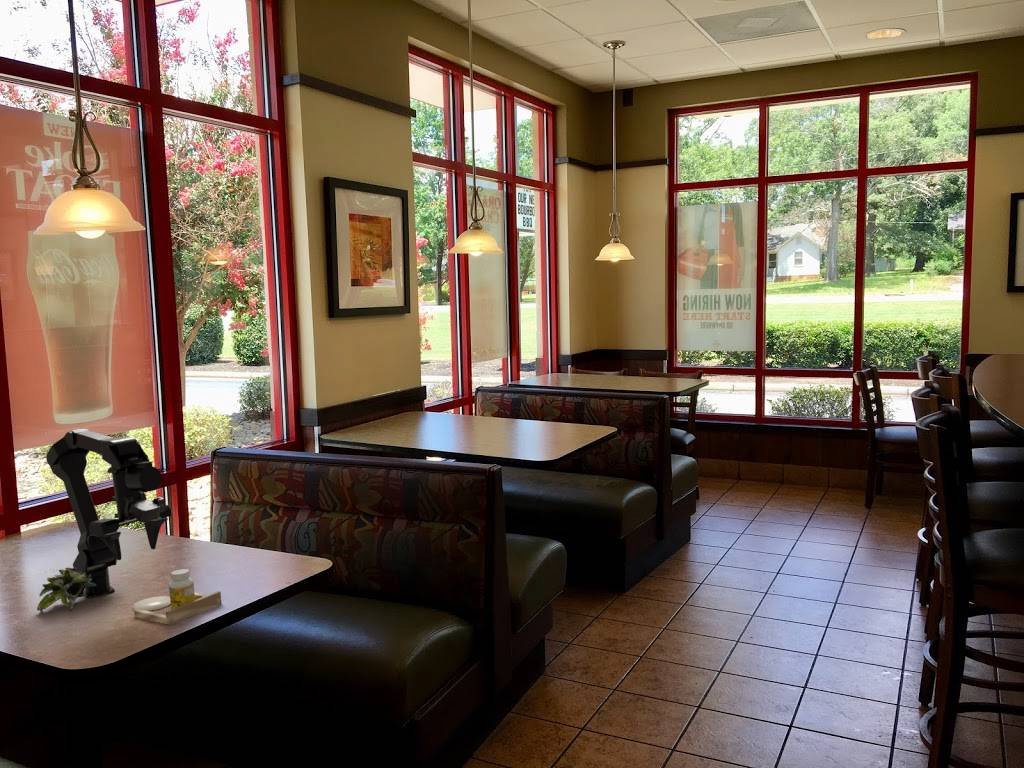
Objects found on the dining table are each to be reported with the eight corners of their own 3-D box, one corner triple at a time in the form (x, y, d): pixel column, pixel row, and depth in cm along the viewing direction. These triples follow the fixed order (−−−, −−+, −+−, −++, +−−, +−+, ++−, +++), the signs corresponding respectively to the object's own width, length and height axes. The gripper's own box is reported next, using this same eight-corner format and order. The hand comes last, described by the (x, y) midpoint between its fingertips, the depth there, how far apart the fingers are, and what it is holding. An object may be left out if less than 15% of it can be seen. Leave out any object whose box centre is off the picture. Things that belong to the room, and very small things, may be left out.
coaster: (128, 605, 199) (127, 603, 199) (166, 595, 205) (166, 593, 205) (139, 614, 192) (139, 612, 192) (178, 604, 198) (178, 602, 198)
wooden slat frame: (134, 616, 191) (133, 604, 190) (186, 596, 203) (185, 584, 203) (169, 625, 184) (168, 612, 184) (221, 603, 197) (220, 591, 197)
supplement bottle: (200, 609, 194) (197, 569, 193) (181, 617, 189) (178, 576, 188) (185, 605, 197) (182, 566, 196) (166, 613, 192) (162, 573, 191)
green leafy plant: (73, 623, 204) (98, 576, 208) (79, 627, 195) (105, 579, 200) (27, 606, 199) (54, 559, 203) (31, 610, 190) (59, 561, 195)
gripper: (112, 499, 185) (122, 567, 186) (182, 482, 201) (191, 544, 202) (83, 499, 191) (92, 565, 192) (153, 482, 207) (161, 543, 208)
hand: (136, 554), depth 198 cm, fingers open, 9 cm apart
